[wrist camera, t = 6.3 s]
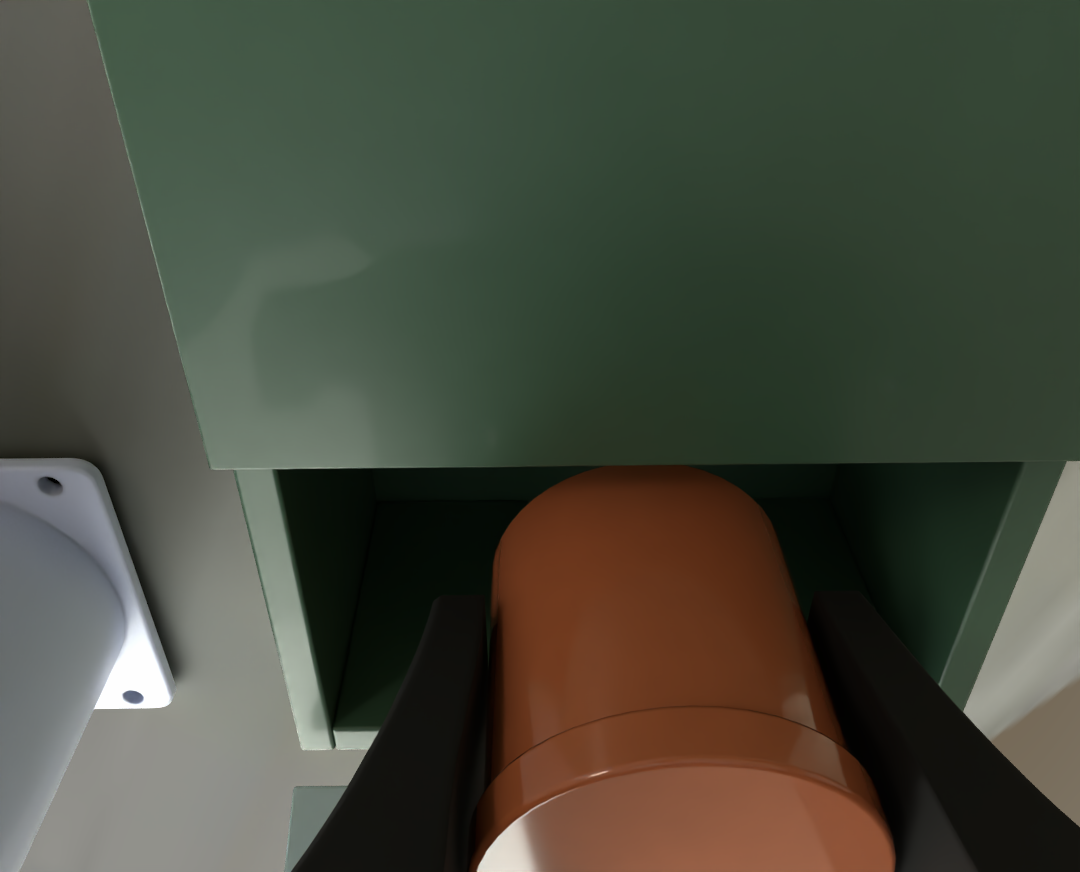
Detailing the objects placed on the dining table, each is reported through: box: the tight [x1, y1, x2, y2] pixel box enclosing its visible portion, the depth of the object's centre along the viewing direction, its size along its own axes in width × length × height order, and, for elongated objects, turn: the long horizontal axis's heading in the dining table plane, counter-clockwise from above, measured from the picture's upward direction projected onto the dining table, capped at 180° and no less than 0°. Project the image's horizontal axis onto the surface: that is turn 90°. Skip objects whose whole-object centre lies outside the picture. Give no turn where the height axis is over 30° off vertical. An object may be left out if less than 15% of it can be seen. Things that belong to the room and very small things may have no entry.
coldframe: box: [87, 0, 1080, 750], centre depth 14 cm, size 13×11×7 cm
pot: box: [467, 465, 896, 872], centre depth 12 cm, size 5×5×5 cm
